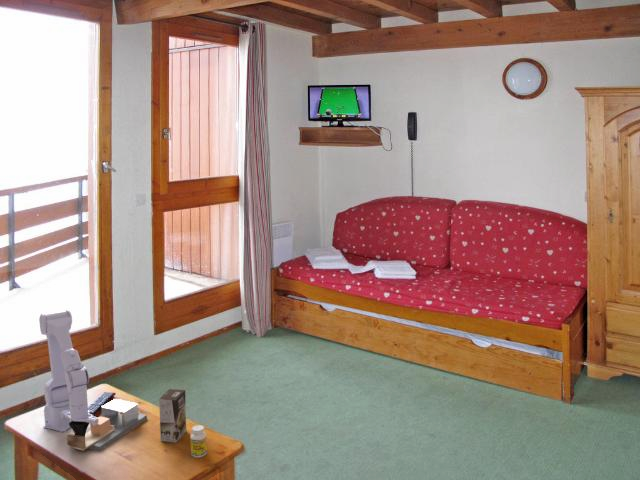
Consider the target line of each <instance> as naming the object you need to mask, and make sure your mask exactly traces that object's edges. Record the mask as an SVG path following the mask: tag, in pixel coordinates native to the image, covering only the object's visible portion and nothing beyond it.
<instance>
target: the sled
mask: <svg viewBox="0 0 640 480" xmlns="http://www.w3.org/2000/svg"><path fill="white" fill-rule="evenodd" d="M110 428H111V429H110V430H108V431H107V432H105V433H104V434H102V435H98V434H94V433H91V430H90V431H89V432H87V433H86V434H85V437H84V436H80V435H76V434H75V433H71V432H68V433H66V446H67V448H72V449H75V450H80V451H83V452H84V451H85V450H86V449H89V448H88V447H90V446H91V445H93V444H94V443H96V442H97V441H99V440H100V439H102V438H103V437H105V436H106V435H108V434H110V433H111V432H113V431H114V426H113V425H110Z"/></svg>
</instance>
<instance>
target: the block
mask: <svg viewBox="0 0 640 480" xmlns="http://www.w3.org/2000/svg"><path fill="white" fill-rule="evenodd" d="M97 418H98V422H99V423H98V424H96V425H95V426H94V425H92V424H91V423H89V425H90V426H89V427H91V433H94V434H98V435H102V434H104V433H105V432H107V431H108V430H110V429H111V428H110V419H109V418H105V417H102V415H101V416H99V417H97Z"/></svg>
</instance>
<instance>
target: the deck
mask: <svg viewBox="0 0 640 480" xmlns="http://www.w3.org/2000/svg"><path fill="white" fill-rule="evenodd" d="M147 419H148V415H147V414H143V413H141V412H140V413H139V412H138V419H136V420H135V421H133V422H132V423H130V424H129V425H127V426H126V427H123V426H122V413H119V412H118V414H117V415H115V416H114V417H112V418H111V419H110V425H113V426H114V431H113V432H111V433H110V434H108V435H106V436H105V437H103V438H102V439H100V440H99V441H97V442H96V443H94V444H93V445H91V446H90V447H88V448H87V449H90V450H95V451H98V452H101V451H102V450H103V449H105V448H106V447H108V446H109V445H111V444H112V443H114V442H115V441H117V440H118V439H119V438H121V437H122V436H124V435H126V434H127V433H128V432H130V431H132V430H133V429H134V428H136V427H138V426H139V425H140V424H142V423H144V422H145V421H146V420H147ZM90 430H91V427H90V426H88V428H87V430H86V433H87V432H89V431H90Z"/></svg>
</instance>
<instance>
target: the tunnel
mask: <svg viewBox="0 0 640 480" xmlns="http://www.w3.org/2000/svg"><path fill="white" fill-rule="evenodd" d="M138 408H139V407H138V403H136V402H130V401H127V400H122V399H118V398H113V400H111V401H109V402H107V403H105V404H104V405H101V417H105V418H109V419H111V418H112V417H114V416H115V415H117V414H118V412H119V413H122V426H123V427H126V426H127V425H129V424H130V423H132V422H133V421H135V420H136V419H138V413H139V409H138Z"/></svg>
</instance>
